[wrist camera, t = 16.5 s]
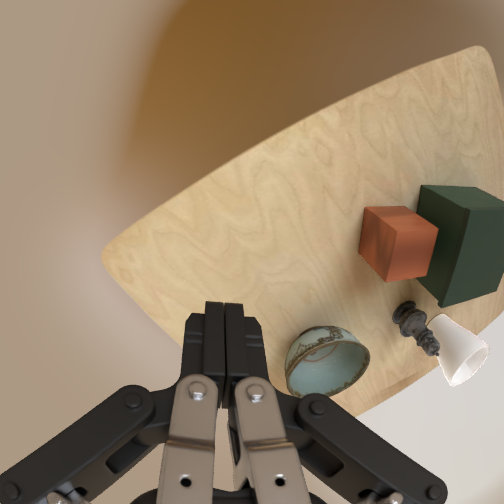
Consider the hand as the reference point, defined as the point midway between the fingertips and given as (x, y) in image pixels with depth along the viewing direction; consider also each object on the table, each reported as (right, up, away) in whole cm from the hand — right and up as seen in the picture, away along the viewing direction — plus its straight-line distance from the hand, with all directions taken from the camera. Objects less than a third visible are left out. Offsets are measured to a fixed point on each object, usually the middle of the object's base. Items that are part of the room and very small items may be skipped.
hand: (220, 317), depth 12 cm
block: (+20, +6, +29) cm, 35 cm away
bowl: (+11, -12, +37) cm, 40 cm away
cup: (+40, -13, +43) cm, 60 cm away
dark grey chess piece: (+29, -8, +38) cm, 49 cm away
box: (+33, +7, +31) cm, 46 cm away
